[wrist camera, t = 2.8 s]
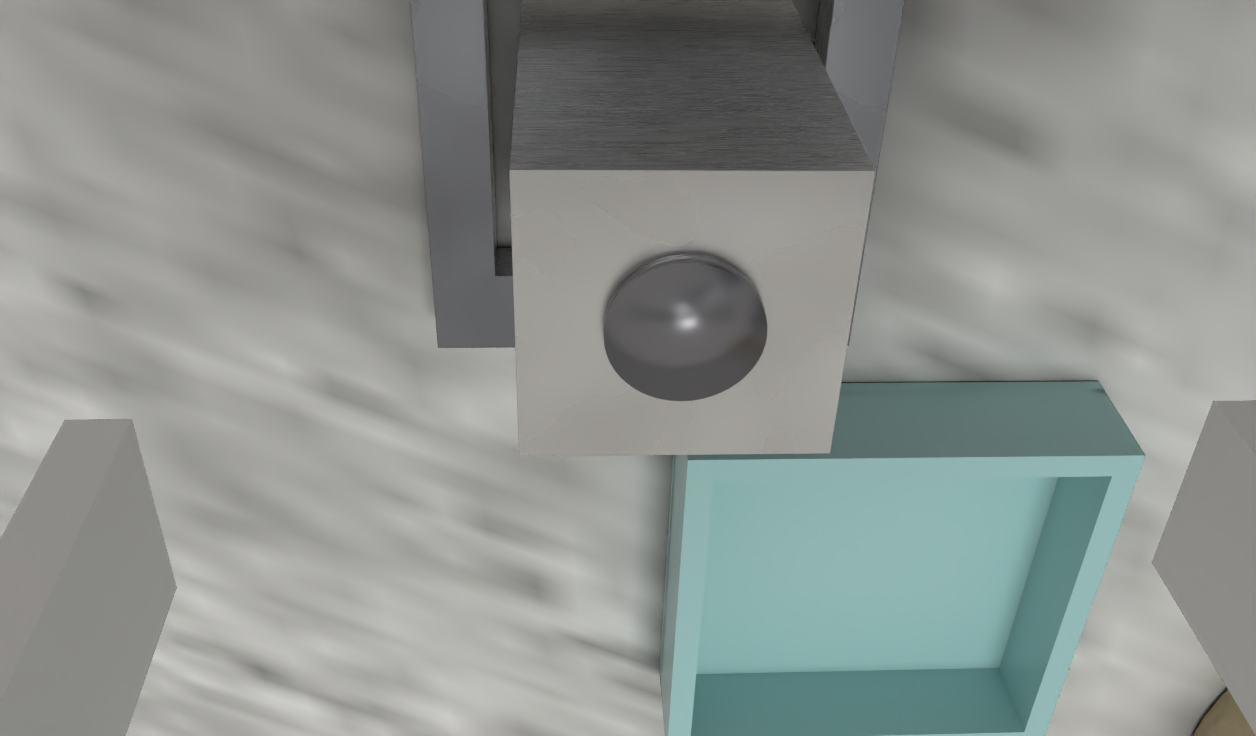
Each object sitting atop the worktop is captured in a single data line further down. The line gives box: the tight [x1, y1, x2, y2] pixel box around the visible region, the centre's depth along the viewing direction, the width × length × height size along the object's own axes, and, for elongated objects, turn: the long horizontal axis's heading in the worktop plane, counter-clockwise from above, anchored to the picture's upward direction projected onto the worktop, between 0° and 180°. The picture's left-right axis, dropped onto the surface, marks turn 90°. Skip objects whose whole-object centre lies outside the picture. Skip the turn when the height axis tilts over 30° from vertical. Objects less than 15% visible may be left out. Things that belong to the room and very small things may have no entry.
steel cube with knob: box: [509, 0, 875, 456], centre depth 21 cm, size 5×5×8 cm
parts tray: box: [659, 381, 1145, 736], centre depth 30 cm, size 10×10×3 cm
